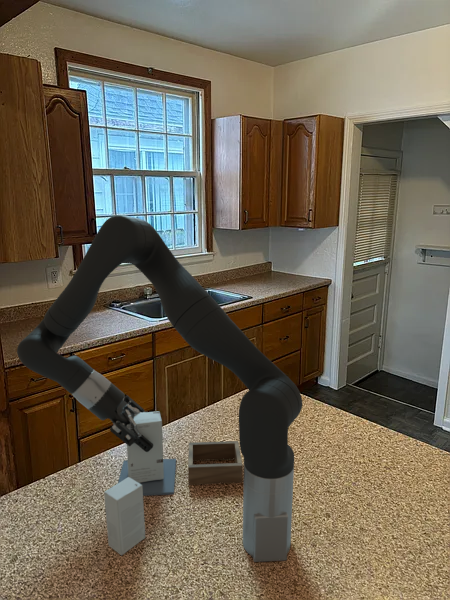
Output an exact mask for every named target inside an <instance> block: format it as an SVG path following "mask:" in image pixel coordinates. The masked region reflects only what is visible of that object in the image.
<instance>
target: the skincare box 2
mask: <svg viewBox="0 0 450 600" xmlns="http://www.w3.org/2000/svg"><path fill="white" fill-rule="evenodd" d="M134 415H135V416H134V419H133V420H134V421H135V423H136V424H137V429H138V431H139V432H140V434H141V435H143V436H144V437H145V438H147V439H148V440H149V441H150V442H151V443H153V448H152V449H151V450H150V451H149V452H145V451H144V450H143V449H142V448H140V447H139V446H138V445H137V444H136V443H134V444H132V445H131V446H128V445H127V444H126V453H127V454H126V455H127V460H128V476H129V477H130V478H131V479H133V480H135V481H136V482H138V483H141V482H147V481H152V480H161V479H164V469H163V459H164V445H163V443H164V442H163V420H162V417H161V412H160V411H157V410H156V411H149V412H148V411H144V412H142V413H138V414H134ZM130 426H131V424H127V428H129V427H130ZM132 432H133V433H134V431H132ZM134 434H135V433H134ZM125 437H126V438H127V439H128V437H127V436H125ZM128 440H129V439H128Z"/></svg>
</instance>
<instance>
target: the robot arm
mask: <svg viewBox="0 0 450 600" xmlns="http://www.w3.org/2000/svg"><path fill="white" fill-rule="evenodd" d="M122 264H131V265H133V266H134V267H135V268H136V269H138V270H139V271H140V272H141V273H142V274H143V275H144V276H145V278H146V279H148V281H149V282H150V283H151V284H152V286H153V287H154V289H155V291H156V293H157V295H158V297H159V300H160V304H161V305H162V309H163V311H164V313H165V316H166V317H167V320H168V322H169V323H170V324H171V325H172V327H173V328H174V329H175V331H176V332H177V333H178V334H179V335H180V336H181V338H182V339H183V340H184V341H185V343H187V344H188V345H189V346H190V347H191V348H192V349H193V350H194V351H196V352H198V353H199V354H201V355H203V356H205V357H207V358H208V359H210V360H212V361H215V362H216V363H218V364H220V365H222V366H224V367H225V368H226V369H229V371H231V372H232V373H233V374H234V375H235V376H237V378H238V379H239V380H240V382H242V383H243V385H244V386H245V387H246V388H247V392H246V393H245V394H244V395H243V396H242V398H241V400H240V403H239V409H238V435H239V436H238V438H239V439H238V441H239V448H240V454H241V456H242V458H243V482H242V483H243V485H242V486H243V490H242V491H243V494H242V501H243V502H242V546H243V548H244V550H245V551H246V552H247V553H248V555H250V557H252V560H253V561H252V562H254V563H257V562H258V563H259V562H277V561H279V562H280V561H287V558H288V553H289V551H290V550H291V543H292V542H291V540H292V537H291V536H292V518H293V515H292V514H293V499H294V498H293V493H294V476H295V475H294V472H295V469H294V468H295V453H294V450H293V448H292V447H291V446H290V444H289V439H288V438H289V436H288V434H289V427H290V426H291V425H292V424H293V423H294V422H295V420H296V419H297V417H298V416H300V413H301V411H302V408H303V398H302V394H301V392H300V390H299V388H298V387H297V385H296V384H295V382H294V381H292V380H291V378H290V377H289V376H287V374H286V373H284V372H283V371H282V369H280V368H279V367H278V366H277V365H276V364H275V363H274V362H272V361H271V359H269V358H268V357H267V356H266V355H265V354H264V353H263V352H262V351H261V350H260V349H259V348H258V347H257V346H256V345H255V344H254V343H253V342H252V341H251V340H250V339H249V337H248V336H247V335H246V334H245V333H244V331H243V330H242V329H240V327H239V326H238V325H237V324H236V323H235V322H234V321H233V320H232V319H231V318H230V316H229V315H228V314H227V313H226V312H225V310H224V309H223V308H222V306H220V305H219V304H218V302H217V301H216V300H215V299H214V298H213V296H212V295H210V294H209V292H207V290H206V289H205V288H204V287H203V286H202V285H201V284H200V283H199V281H198V280H197V279H196V278H195V277H194V276H193V275H192V274H191V273H190V272H189V271H188V270H187V268H185V267H184V266H183V265H182V264H181V262H180V261H178V259H177V257H175V256H174V254H173V253H172V251H171V250H170V248H169V247H168V246H167V244H166V243H165V241H164V240H163V237H161V235H160V234H159V233H158V231H157V230H156V229H155V228H154V226H153V225H152V224H151V223H149V222H148V221H146V220H144V219H141V218H139V217H138V218H137V217H134V216H129V215H125V214H116V215H113V216H110V217H109V218H108V219H106V220H105V221H104V222H103V223H102V225H101V226H100V228H99V230H98V231H97V232H96V234H95V237H94V238H93V240H92V242H91V244H90V246H89V247H88V250H87V252H86V253H85V255H84V257H83V258H82V260H81V262H80V264H79V265H78V268H77V269H76V271H75V273H74V274H73V276H72V278H70V281H69V282H68V284H67V285H66V287H65V288H64V289H63V291H62V292H61V293H60V294H59V296H58V297H57V298H56V299H55V300H54V302H53V303H52V304H51V305H50V307H49V308H48V309H47V311H46V313H45V314H44V317H43V319H42V320H41V321H40V322H39V324H38V325H36V327H35V328H34V329H33V330H32V331H31V332H30V333H29V334H28V335H26V337H24V338H22V340H21V341H20V342H19V344H18V346H17V348H16V353H17V357H18V359H19V361H20V362H21V363H22V365H23V366H25V367H26V368H27V369H29V370H30V371H32V372H34V373H35V374H38V375H40V376H42V377H44V378H47V379H49V380H51V381H53V382H55V383H58V385H60V386H61V387H62V388H64V390H66V391H67V392H68V393H69V394H71V395H72V396H73V398H75V399H76V400H77V401H78V403H80V404H81V405H82V406H83V407H85V408H86V409H87V410H88V411H89V412H91V413H92V415H94V416H96V417H97V418H98V419H99V420H101V421H105V420H110V421H111V422H112V424H113V425H112V426H111V427H110V428H109V431H110V432H111V433H112V434H113V435H114V436H116V437H117V438H118V439H120V440H121V441H122V442H123V443H124V444H126V446H127V445H128V446H131V445H132V444H134V443H136V444H137V445H138V446H139V447H140V448H142V449H143V450H144V451H145V452H149V451H150V450H151V449H152V448H153V443H151V442H150V441H149V440H148V439H147V438H145V437H144V436H143V435H141V434H140V432H139V431H138V429H137V424H136V423H135V421H134V420H133V419H134V416H135V415H134V414H138V413H142V412H145V409H144V408H143V407H142V406H140V404H138V403H137V401H135V400H134V399H132V397H130V396H129V395H128V394H127V395H125V393H124V392H123V391H122V390H121V389H119V387H117V386H116V385H115V384H113V383H112V382H111V381H110V380H109V379H108V378H106V376H104V375H103V374H101V373H99V372H98V371H96V370H95V369H94V368H92V367H91V365H89V364H88V363H87V362H86V361H85V360H83V359H82V358H81V357H79V356H78V355H70V356H68V357H64V356H63V355H61V354H60V353H58V352H59V351H60V350H61V348H62V347H63V346H64V345H65V344H66V342H67V341H68V339H69V337H70V336H71V335H72V334H73V333H74V332H75V331H76V330H77V329H78V328H79V327H80V325H82V323H83V322H84V321H85V319H87V317H88V316H89V315H90V313H91V312H92V310H93V308H94V306H95V304H96V302H97V299H98V295H99V292H100V289H101V287H102V285H103V284H104V282H105V280H106V279H107V278H108V277H109V275H110V274H111V273H113V272H114V271H115V270H116V269H117V268H118V267H119V266H121V265H122ZM127 424H131V426H130V427H129V428H127ZM132 431H134V433H135V434H134V433H133V432H132ZM126 436H127V437H128V439H129V440H128V439H127V438H126Z"/></svg>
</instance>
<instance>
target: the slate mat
mask: <svg viewBox="0 0 450 600" xmlns="http://www.w3.org/2000/svg"><path fill="white" fill-rule="evenodd" d="M163 469H164V479H161V480H152V481H147V482H141V483H140V484H141V485H142V488H143V497H145V496H147V497H148V496H166V495H168V496H169V495H175V483H176V469H177V458H163ZM128 477H129V476H128V459H125V460H123V463H122V466H121V471H120V474H119V478H118V482H117V484H118V483H120V482H121V481H123V480H124V479H126V478H128Z"/></svg>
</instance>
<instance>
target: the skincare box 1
mask: <svg viewBox="0 0 450 600" xmlns="http://www.w3.org/2000/svg"><path fill="white" fill-rule="evenodd" d="M103 494H104V495H103V496H104V508H105V519H106V520H105V522H106V532H107V543H108V546H109V547H110V548H111V549H112V550H113V551H114V552H116V553H118V554H119V555H120V556H124V554H125V553H127V552H128V551H130V550H131V549H132V548H133V547H135V546H136V545H137V544H139V543H140V542H141V541H143V540H144V539H146V524H145V511H144V510H145V505H144V496H143V488H142V485H141V484H140V483H138V482H136V481H135V480H133V479H131V478H130V477H128V478H126V479H124V480H123V481H121V482H120V483H118V482H117V483H116V484H114V485H113V486H111V487H110V488H108V489H107V490H104V492H103Z"/></svg>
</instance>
